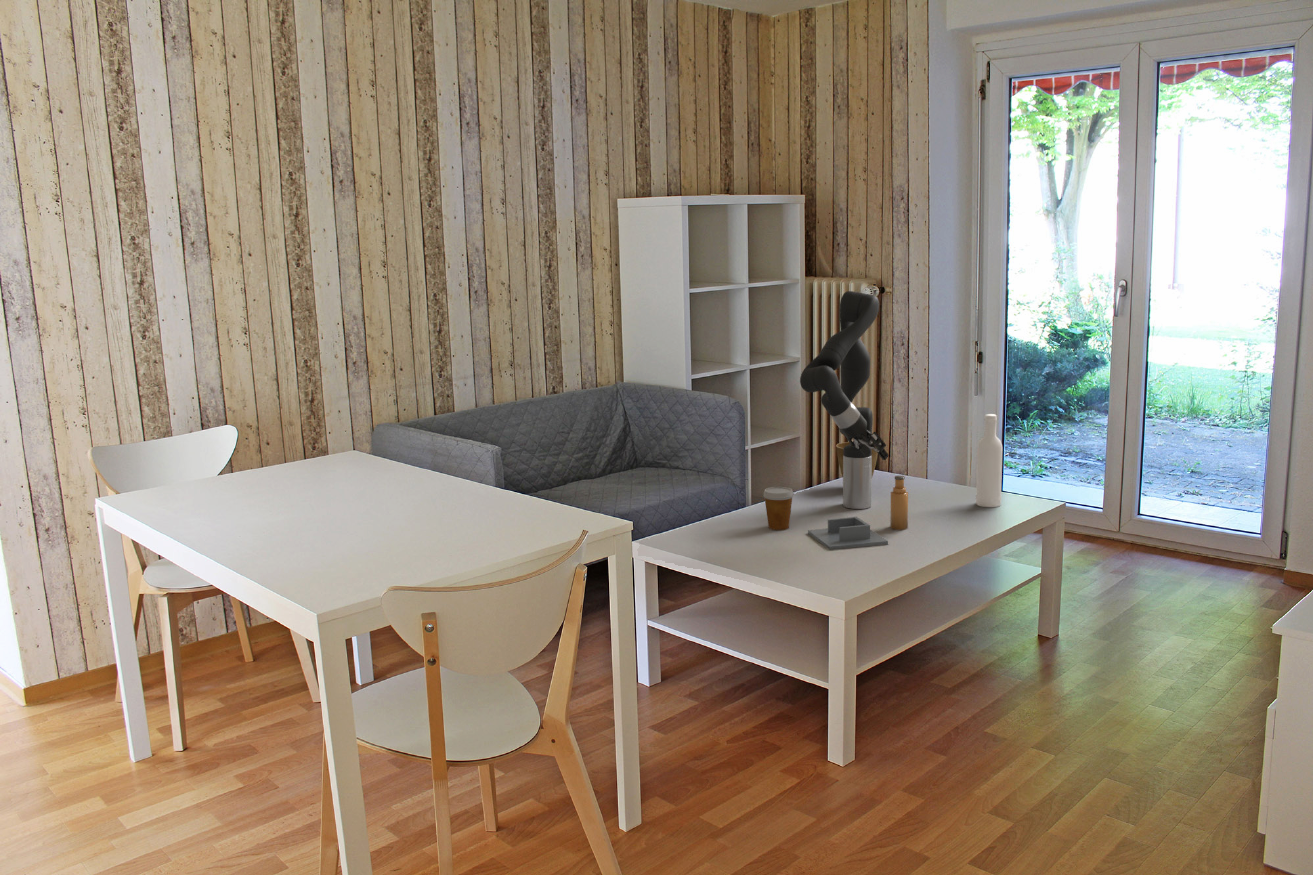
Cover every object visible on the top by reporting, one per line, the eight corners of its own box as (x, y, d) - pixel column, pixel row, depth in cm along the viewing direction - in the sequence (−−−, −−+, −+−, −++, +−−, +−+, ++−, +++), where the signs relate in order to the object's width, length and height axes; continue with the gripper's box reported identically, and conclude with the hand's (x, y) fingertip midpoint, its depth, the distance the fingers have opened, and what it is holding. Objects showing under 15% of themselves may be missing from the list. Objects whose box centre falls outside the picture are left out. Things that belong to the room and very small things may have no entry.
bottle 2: (1002, 507, 332) (1005, 417, 327) (977, 507, 334) (979, 417, 328) (999, 501, 340) (1002, 412, 334) (974, 501, 341) (977, 412, 336)
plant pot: (887, 489, 361) (887, 445, 358) (855, 496, 353) (855, 451, 350) (859, 482, 373) (859, 439, 370) (827, 488, 366) (827, 444, 363)
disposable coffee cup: (800, 526, 319) (799, 489, 316) (782, 533, 312) (781, 495, 309) (775, 521, 325) (775, 485, 323) (757, 528, 318) (756, 490, 316)
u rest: (829, 550, 294) (829, 533, 293) (807, 533, 311) (807, 517, 310) (888, 544, 297) (888, 527, 296) (863, 528, 314) (863, 512, 314)
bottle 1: (887, 526, 316) (887, 475, 313) (902, 524, 317) (903, 474, 314) (895, 530, 311) (896, 479, 308) (910, 528, 312) (911, 477, 309)
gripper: (871, 411, 296) (900, 450, 302) (841, 407, 309) (869, 444, 315) (855, 430, 294) (884, 468, 300) (826, 425, 307) (854, 462, 313)
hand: (877, 456), depth 308 cm, fingers open, 8 cm apart
